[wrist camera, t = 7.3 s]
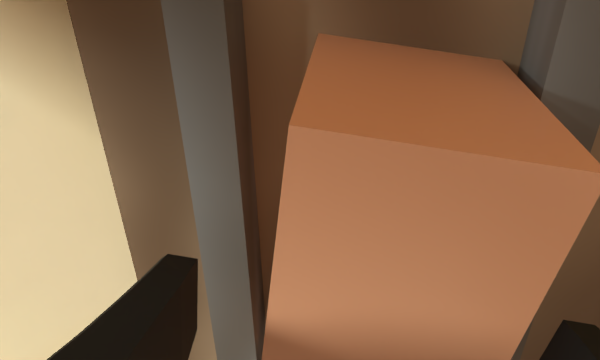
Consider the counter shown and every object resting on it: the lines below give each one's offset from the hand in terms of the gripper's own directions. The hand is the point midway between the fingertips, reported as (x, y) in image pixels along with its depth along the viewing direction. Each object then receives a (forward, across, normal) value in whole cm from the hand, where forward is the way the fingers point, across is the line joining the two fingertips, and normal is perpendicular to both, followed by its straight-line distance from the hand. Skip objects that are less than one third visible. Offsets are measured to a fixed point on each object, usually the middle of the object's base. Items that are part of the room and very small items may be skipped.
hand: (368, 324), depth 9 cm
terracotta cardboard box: (+4, 0, 0) cm, 4 cm away
